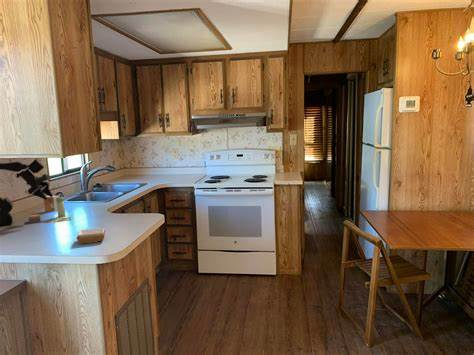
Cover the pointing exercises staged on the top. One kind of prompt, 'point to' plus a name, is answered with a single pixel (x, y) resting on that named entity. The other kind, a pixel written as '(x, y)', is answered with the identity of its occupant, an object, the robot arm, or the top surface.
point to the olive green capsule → (60, 206)
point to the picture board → (58, 220)
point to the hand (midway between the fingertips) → (49, 197)
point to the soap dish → (91, 235)
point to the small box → (50, 204)
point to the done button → (34, 216)
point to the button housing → (35, 219)
